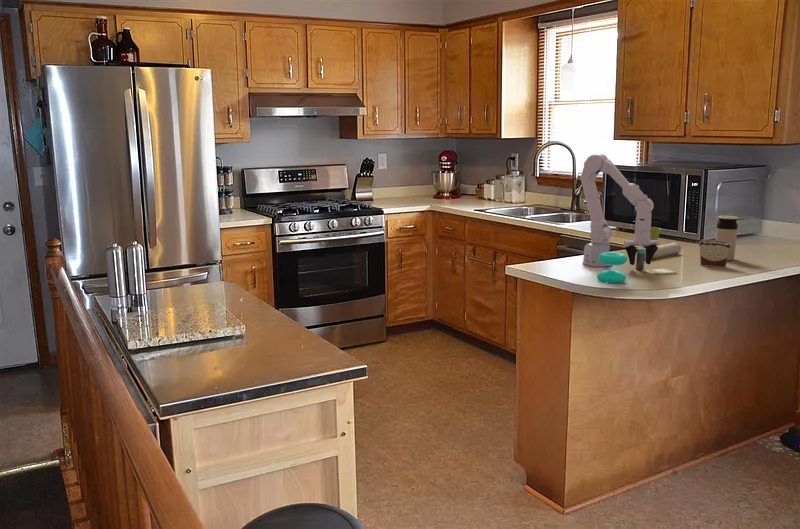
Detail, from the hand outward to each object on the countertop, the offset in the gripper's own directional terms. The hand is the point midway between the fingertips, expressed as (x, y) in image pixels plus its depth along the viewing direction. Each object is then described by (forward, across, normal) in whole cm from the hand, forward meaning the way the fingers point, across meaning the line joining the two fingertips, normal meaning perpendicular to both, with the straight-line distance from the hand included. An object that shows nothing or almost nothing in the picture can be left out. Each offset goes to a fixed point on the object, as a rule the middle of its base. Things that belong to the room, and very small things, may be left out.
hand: (640, 264), depth 280 cm
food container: (+2, +35, 0) cm, 35 cm away
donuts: (+2, -23, -16) cm, 28 cm away
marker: (+2, 0, 0) cm, 2 cm away
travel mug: (+2, +49, +12) cm, 50 cm away
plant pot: (+2, +36, +46) cm, 58 cm away
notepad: (+2, +4, -7) cm, 8 cm away
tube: (+2, +25, +22) cm, 33 cm away
